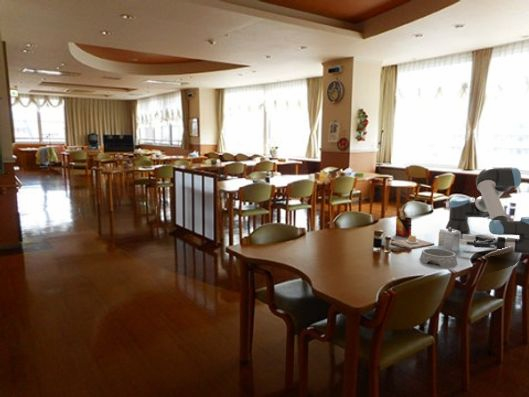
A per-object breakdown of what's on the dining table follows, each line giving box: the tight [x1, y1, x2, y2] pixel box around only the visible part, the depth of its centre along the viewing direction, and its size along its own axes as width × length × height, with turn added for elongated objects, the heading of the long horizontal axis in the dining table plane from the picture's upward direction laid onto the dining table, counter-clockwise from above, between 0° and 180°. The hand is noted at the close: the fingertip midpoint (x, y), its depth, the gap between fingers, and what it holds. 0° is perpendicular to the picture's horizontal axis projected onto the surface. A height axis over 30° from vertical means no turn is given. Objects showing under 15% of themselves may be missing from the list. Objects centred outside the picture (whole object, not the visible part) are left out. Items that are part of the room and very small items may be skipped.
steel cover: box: [437, 228, 462, 252], centre depth 222 cm, size 11×11×13 cm
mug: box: [395, 216, 413, 238], centre depth 256 cm, size 10×14×12 cm
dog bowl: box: [419, 248, 458, 268], centre depth 202 cm, size 17×18×5 cm
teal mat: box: [427, 245, 471, 254], centre depth 223 cm, size 16×16×1 cm
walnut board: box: [391, 238, 435, 250], centre depth 235 cm, size 20×16×2 cm
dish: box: [406, 234, 418, 244], centre depth 234 cm, size 7×7×5 cm
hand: (461, 239), depth 218 cm, fingers open, 13 cm apart
